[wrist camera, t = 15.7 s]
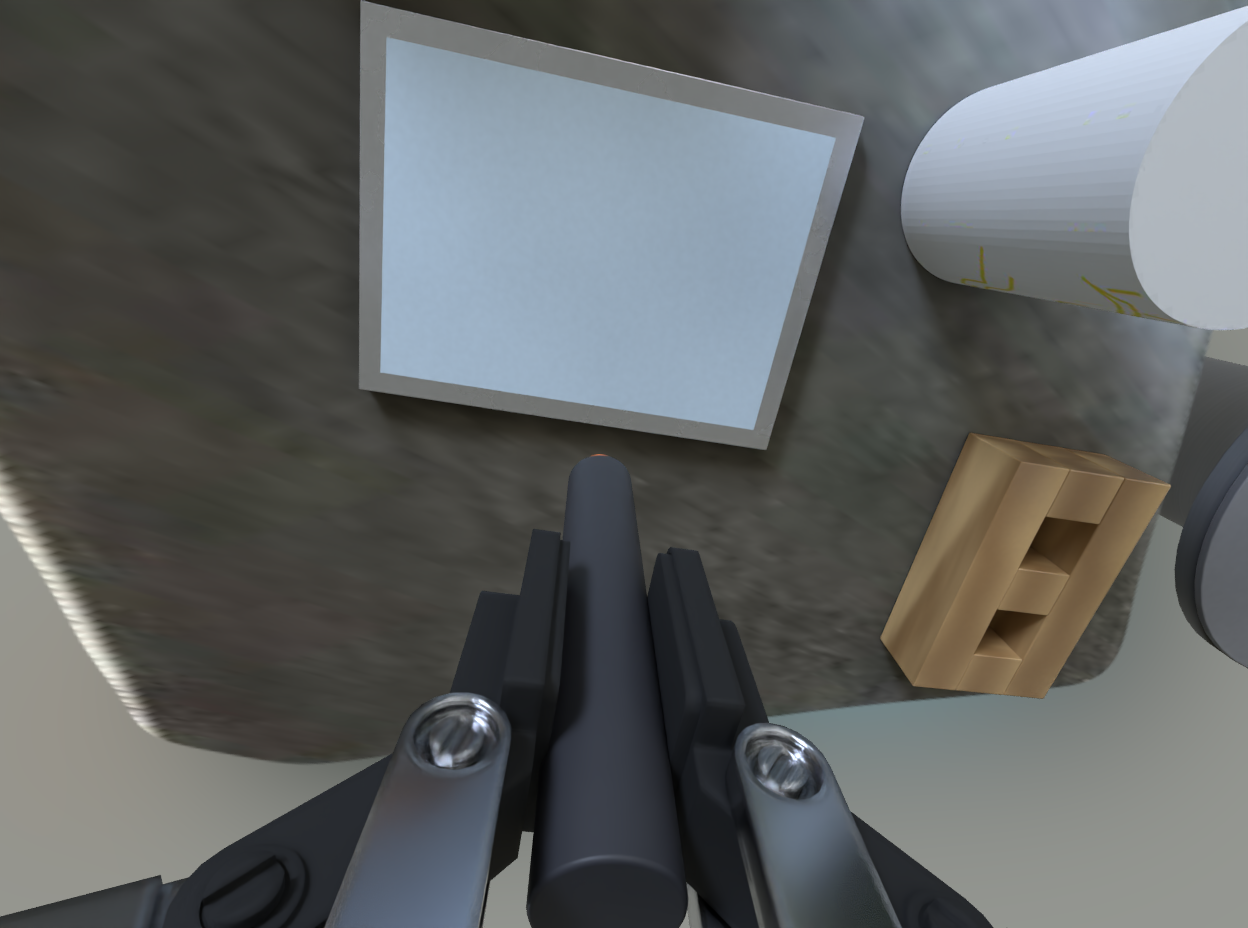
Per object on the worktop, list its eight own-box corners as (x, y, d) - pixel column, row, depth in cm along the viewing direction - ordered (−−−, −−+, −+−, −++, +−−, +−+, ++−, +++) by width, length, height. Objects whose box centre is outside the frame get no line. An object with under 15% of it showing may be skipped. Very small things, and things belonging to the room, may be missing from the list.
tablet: (856, 119, 25) (866, 115, 24) (761, 444, 30) (767, 451, 29) (368, 7, 22) (358, -2, 21) (365, 384, 28) (357, 389, 27)
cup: (895, 295, 28) (1101, 349, 17) (906, 98, 24) (1171, 2, 13) (1063, 271, 28) (1380, 308, 17) (1097, 70, 24) (1516, -48, 13)
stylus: (634, 448, 17) (706, 866, 6) (623, 502, 18) (670, 964, 7) (574, 439, 17) (535, 855, 6) (565, 494, 18) (516, 957, 7)
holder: (1104, 454, 32) (1172, 485, 28) (998, 651, 37) (1043, 699, 33) (969, 432, 31) (1021, 461, 27) (879, 638, 36) (912, 686, 32)
